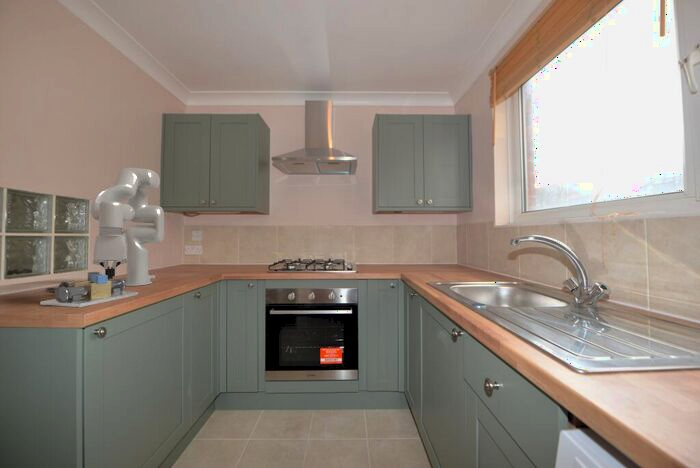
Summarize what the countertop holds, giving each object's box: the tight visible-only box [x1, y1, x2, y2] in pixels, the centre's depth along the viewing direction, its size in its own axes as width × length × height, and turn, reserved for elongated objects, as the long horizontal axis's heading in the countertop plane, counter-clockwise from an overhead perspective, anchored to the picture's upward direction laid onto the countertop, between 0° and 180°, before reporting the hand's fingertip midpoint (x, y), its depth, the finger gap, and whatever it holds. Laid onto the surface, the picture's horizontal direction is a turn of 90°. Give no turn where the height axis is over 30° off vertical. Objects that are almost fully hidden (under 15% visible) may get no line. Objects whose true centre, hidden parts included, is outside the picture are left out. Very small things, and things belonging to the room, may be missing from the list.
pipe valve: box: [39, 278, 139, 308], centre depth 122 cm, size 24×18×7 cm
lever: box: [87, 271, 109, 284], centre depth 119 cm, size 15×4×4 cm, turn 53°
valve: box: [45, 281, 75, 292], centre depth 137 cm, size 6×26×15 cm
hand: (110, 278), depth 119 cm, fingers closed
